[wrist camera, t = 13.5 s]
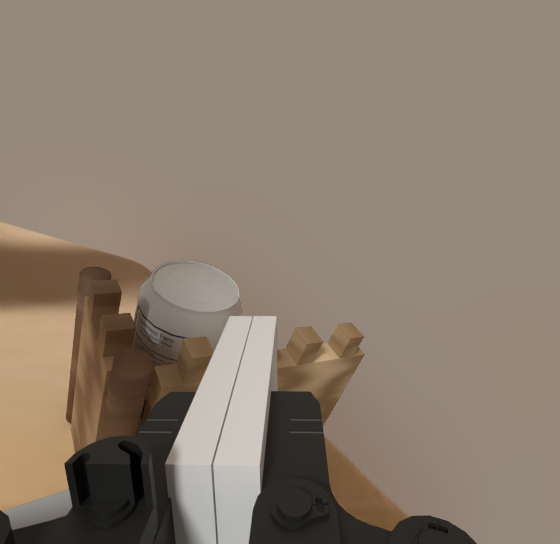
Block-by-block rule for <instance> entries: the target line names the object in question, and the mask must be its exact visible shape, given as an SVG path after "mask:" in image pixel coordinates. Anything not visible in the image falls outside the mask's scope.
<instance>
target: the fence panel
mask: <svg viewBox="0 0 560 544" xmlns="http://www.w3.org/2000/svg"><path fill="white" fill-rule="evenodd" d="M363 338H364V336H363V335H362V334H361V333H360V332H359V331H358V329H357V328H356V327H355V326H354V325H353V324H352V323H342V324H338V325H337V327H336V329H335V331H334V332H333V334H332V336H331V338H330V340H329V342H328V344H322V343H323V341H322V340H321V338H320V337H319V336H318V335H317V333H316V332H315V331H314V330H313V328H312V327H311V326H310V327H300V328H295V330H294V332H293V334H292V336H291V339H290V341H289V343H288V345H287V348H286V349H283V350H277V382H278V391H309V392H311V393H312V394H313V395H314V397H315V398H316V399H317V401H318V402H319V403H320V408H321V416H322V425H324V423H325V422H326V420H327V418H328V417H329V415H330V413H331V411H332V410H333V408H334V406H335V405H336V403H337V401H338V399H339V398H340V396H341V394H342V392H343V391H344V389H345V387H346V386H347V384H348V382H349V380H350V378H351V377H352V375H353V373H354V372H355V370H356V368H357V367H358V365H359V363H360V362H361V360H362V358H363V356H364V355H365V354H364V353H363V352H362V350H361V349H360V348H359V347H358V346H359V345H360V343H361V341H362V339H363ZM213 353H214V351H213V349H212V347H211V345H210V343H209V341H208V339H207V337H206V336H204V337H194V338H183V341H182V345H181V349H180V352H179V356H178V360H177V363H176V364H169V365H162V366H154V370H153V374H152V378H151V383H150V387H149V391H148V395H147V400H146V404H145V408H144V412H143V416H142V421H141V425H140V429H141V427H142V425H143V423H144V422H145V421H146V420H147V417H148V415H149V413H150V412H151V410H152V408H153V407H154V405H155V403H157V402H158V401H159V400H161V399H162V398H163V397H164V396H166V395H167V394H168V393H169V392H197V390H198V387H199V385H200V383H201V381H202V378H203V376H204V374H205V371H206V369H207V367H208V365H209V362H210V360H211V358H212V356H213ZM140 429H139V432H140Z"/></svg>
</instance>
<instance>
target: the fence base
mask: <svg viewBox="0 0 560 544" xmlns="http://www.w3.org/2000/svg"><path fill="white" fill-rule="evenodd" d="M121 294H122V292H121V289H120V287H119V284H118V282H117V280H111V273H110V272H109V271H108V270H106V269H103V268H99V267H88V268H85V269H83V270H82V271H81V272H80V278H79V288H78V299H77V309H76V319H75V330H74V340H73V351H72V361H71V371H70V382H69V392H68V402H67V413H66V419H67V421H68V422H69V423H71V432H72V438H73V443H74V449H75V453H76V452H77V451H79V450H81V449H82V448H84V447H86V446H88V445H89V444H91V443H93V442H96V441H99V440H102V439H105V438H108V437H115V436H123V435H125V436H131V437H136V435H137V432H138V427H139V423H140V419H141V415H142V410H143V406H144V402H145V398H146V393H147V389H148V385H149V381H150V376H151V372H152V368H153V359H152V357H151V356H150V355H149V354H148V353H146V352H145V351H142V350H139V349H132V347H133V341H134V336H135V331H136V327H135V324H134V322H133V319H132V317H131V314H130V313H123V314H118V312H119V306H120V300H121ZM71 508H72V502H71V496H70V491H69V490H66V491H63V492H60V493H57V494H53V495H50V496H47V497H44V498H41V499H38V500H35V501H32V502H29V503H26V504H23V505H20V506H17V507H14V508H11V509H8V510H5V511H2V512H3V513H5V514H6V515H8V516H9V519H10V523H11V528H12V530H14V529H18V528H22V527H26V526H30V525H34V524H38V523H42V522H46V521H50V520H54V519H57V518H60V517H63V516H66V515H67V514H68V513H69V511H70V509H71Z"/></svg>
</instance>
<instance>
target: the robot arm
mask: <svg viewBox="0 0 560 544" xmlns="http://www.w3.org/2000/svg"><path fill="white" fill-rule="evenodd" d="M64 464H65V470H66V475H67V480H68V486H69V491H70V496H71V502H72V508H71V509H70V511H69V513H68V514H67V515H66V516H63V517H60V518H57V519H54V520H50V521H46V522H42V523H38V524H34V525H30V526H26V527H22V528H18V529H14V530H12V528H11V523H10V519H9V516H8V515H6V514H5V513H3V512H2V511H0V544H477V543H475V541H474V540H473V539H472V538H470V536H469V535H468V534H467V533H466V532H464V531H463V530H461V529H460V528H458V527H456V526H455V525H453V524H451V523H450V522H448V521H445V520H442V519H439V518H435V517H432V516H411V517H409V518H407V519H404V520H402V521H400V522H399V523H398V524H397V525H396V527H395V528H394V529H393V531H392V532H391V531H388V530H385V529H382V528H379V527H376V526H372V525H369V524H367V523H365V522H362V521H360V520H358V519H356V518H354V517H353V516H351V515H350V514H349V513H347V512H346V511H345V510H344V509H343V508H342V507H341V506H340V505H339V504H338V503H337V501H336V499H335V498H334V496H333V494H332V492H331V488H330V484H329V476H328V467H327V459H326V450H325V442H324V434H323V425H322V416H321V408H320V403H319V402H318V401H317V399H316V398H315V397H314V395H313V394H312V393H311V392H309V391H278V382H277V317H276V316H254V317H253V316H230V317H229V319H228V321H227V324H226V326H225V328H224V330H223V333H222V335H221V337H220V340H219V342H218V344H217V346H216V349H215V351H214V353H213V356H212V358H211V360H210V362H209V365H208V367H207V369H206V371H205V374H204V376H203V378H202V381H201V383H200V385H199V387H198V390H197V392H169V393H168V394H167V395H166V396H164V397H163V398H162V399H161V400H159V401H158V402H157V403H155V405H154V407H153V408H152V410H151V412H150V413H149V415H148V417H147V420H146V421H145V422H144V423H143V425H142V427H141V429H140V432H139V433H138V434H137V435H136V437H131V436H125V435H123V436H115V437H108V438H105V439H102V440H99V441H96V442H93V443H91V444H89V445H88V446H86V447H84V448H82V449H81V450H79V451H77V452H76V453H75V454H74V455H73V456H72V457H71V458H70V459H69V460H68V461H67V462H66V463H64Z"/></svg>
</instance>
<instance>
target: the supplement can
mask: <svg viewBox="0 0 560 544" xmlns="http://www.w3.org/2000/svg"><path fill="white" fill-rule="evenodd" d="M239 295H240V293H239V289H238V286H237V284H236V283H235V282H234V280H233V279H232V278H231V277H230V276H228V275H227V274H226V273H224V272H223V271H222V270H219V269H217V268H215V267H213V266H211V265H208V264H204V263H200V262H197V261H186V260H178V261H169V262H166V263H164V264H161V265H159V266H157V267H156V268H155V270H154V271H153V272H152V274H151V276H150V277H149V278H148V279H147V280H146V281H145V282H144V283H143V284H142V285H141V286H140V291H139V297H138V302H137V307H136V313H135V318H134V324H135V327H136V331H135V336H134V341H133V347H132V349H139V350H142V351H145V352H146V353H148V354H149V355H150V356H151V357H152V359H153V368H152V372H151V376H150V381H149V385H148V389H147V393H146V398H145V402H144V406H143V410H142V415H141V419H140V423H139V427H138V432H137V434H138V433H139V429H140V425H141V421H142V416H143V412H144V408H145V404H146V400H147V395H148V391H149V387H150V383H151V378H152V374H153V370H154V366H162V365H169V364H176V363H177V360H178V356H179V352H180V349H181V345H182V341H183V338H194V337H204V336H206V337H207V339H208V341H209V343H210V345H211V347H212V349H213V351H215V349H216V346H217V344H218V342H219V340H220V337H221V335H222V333H223V330H224V328H225V326H226V324H227V321H228V319H229V317H230V316H241V313H242V309H241V303H240V299H239Z"/></svg>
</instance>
